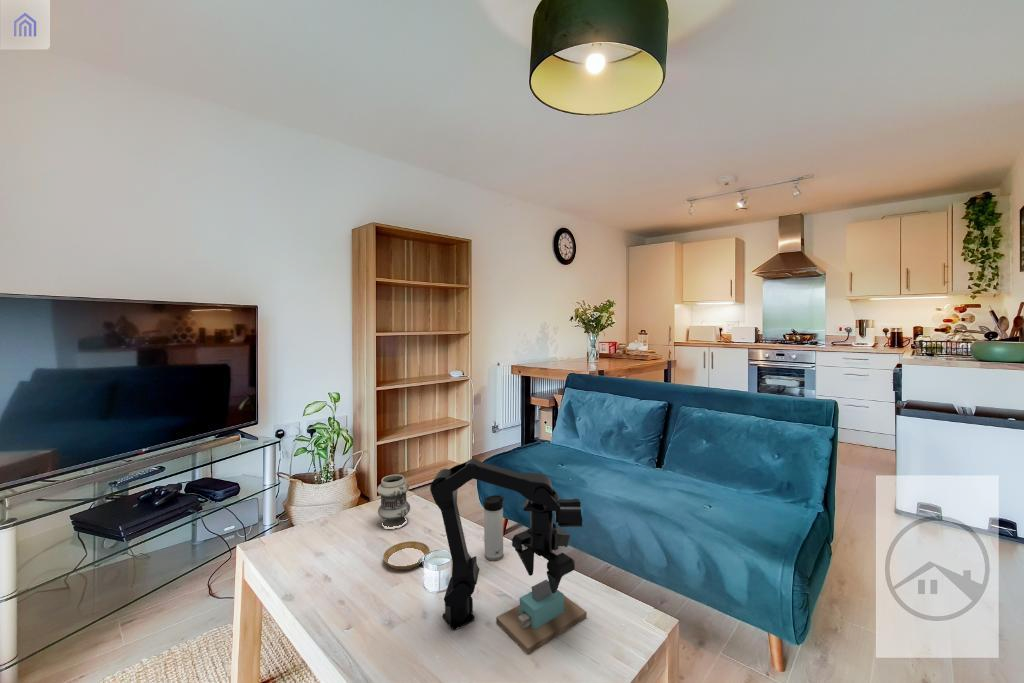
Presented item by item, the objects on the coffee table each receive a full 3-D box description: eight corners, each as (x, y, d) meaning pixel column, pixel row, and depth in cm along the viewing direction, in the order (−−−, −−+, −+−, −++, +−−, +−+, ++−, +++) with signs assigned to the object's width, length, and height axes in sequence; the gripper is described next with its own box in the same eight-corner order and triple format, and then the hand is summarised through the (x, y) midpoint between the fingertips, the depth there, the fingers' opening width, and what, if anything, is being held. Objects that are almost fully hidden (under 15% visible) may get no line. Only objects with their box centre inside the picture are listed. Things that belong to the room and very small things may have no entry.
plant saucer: (405, 544, 148) (405, 537, 148) (438, 554, 142) (438, 547, 141) (373, 566, 135) (373, 558, 135) (408, 579, 128) (408, 571, 128)
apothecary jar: (385, 515, 169) (384, 471, 168) (414, 516, 168) (413, 472, 167) (372, 530, 157) (371, 483, 156) (404, 532, 156) (402, 484, 155)
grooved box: (534, 629, 105) (534, 598, 104) (519, 616, 110) (519, 586, 109) (563, 612, 111) (563, 583, 110) (548, 600, 116) (548, 572, 115)
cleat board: (527, 654, 99) (527, 640, 99) (496, 622, 110) (496, 609, 109) (586, 617, 111) (586, 604, 111) (553, 591, 122) (553, 580, 121)
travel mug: (502, 562, 136) (501, 502, 135) (482, 560, 138) (481, 500, 136) (506, 551, 142) (505, 494, 141) (487, 549, 144) (486, 492, 143)
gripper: (589, 530, 106) (590, 589, 107) (541, 504, 121) (541, 556, 122) (557, 544, 99) (558, 608, 100) (510, 515, 114) (511, 571, 115)
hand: (542, 583), depth 110 cm, fingers open, 9 cm apart
